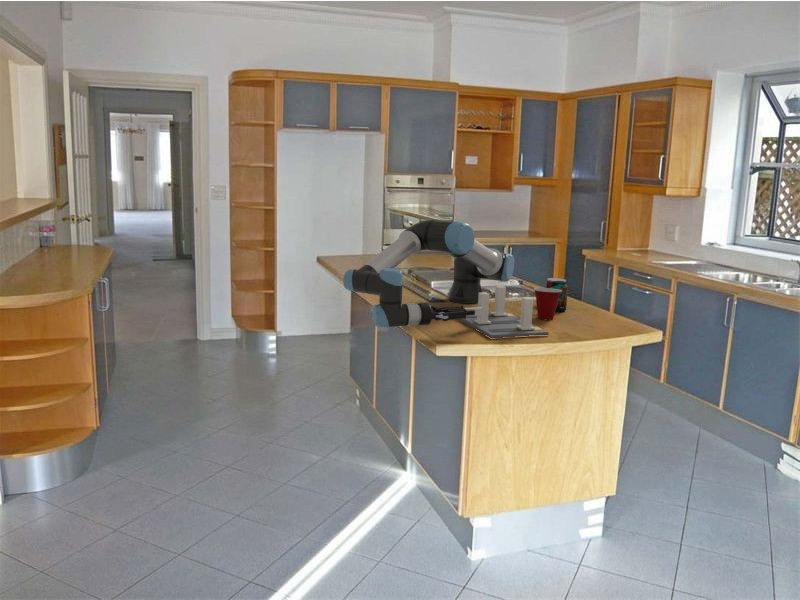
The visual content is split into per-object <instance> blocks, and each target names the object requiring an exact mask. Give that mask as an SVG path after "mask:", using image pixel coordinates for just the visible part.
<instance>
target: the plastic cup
mask: <svg viewBox="0 0 800 600" xmlns="http://www.w3.org/2000/svg"><path fill="white" fill-rule="evenodd" d="M533 290H534V293H535V302H536V310H537V311H536V312H537V317H538V319H539V318H540V319H539V320H542V319H547V320H546V321H549V320H548V319H552V320H554V317H555V315H556V314H555V313H556V312H555V311H556V307H557V303H558V299H559V295H560V293H561V292H562V290H559V289H552V288H546V287H534V288H533Z"/></svg>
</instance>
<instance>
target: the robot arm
mask: <svg viewBox="0 0 800 600" xmlns="http://www.w3.org/2000/svg"><path fill="white" fill-rule="evenodd" d="M421 251H430V252H438V253H439V252H440V253H445V254H447V255H449V256H451V257H453V261H454V262H453V282H452V284H451V287H450V290H449V293H448V300H449V301H450V300H451V301H450V302H453V303H459V304H478V296H479V293H480V292H483V289H482V285H481V279H483V280H492V281H498V282H509V281H510V280H511V278H512V277H513V274H514V269H515V257H514V254H511V253H505V252H501V251H499V250H498V249H496V248H493V247H490V248H489V247H487V246H485V245H484V244H482V243H481V242H479V241H478V240H477V239H475V233H474V230H473V228H472V226H471V225H470V224H469V223H467V222H463V221H453V220H450V221H449V220H439V219H426V220H421V221H419V222H417V223H414V224H413V225H411V226H409V227H407V228H406V229H404V230H403V231H402V232H401V233H400V234H399V236H398V238H397V239H396V240H394V241H393V242H392V243H391V244H390V245H388V246H387V247H386V248H384V249H383V250H381V252H379V253H378V254H376V255H375V256H374V257H373V258H371V259H370V260H368V261H367V262H366V263H365V264H364V265H362V266H361V267H360V268H358V269H356V268H351V269H347V270H346V271H345V272H344V275H343V277H342V283H343V287H344V289H346V290H347V291H351V292H354V293H359V294H360V293H361V294H367V295H373V296H379V300H378V301H379V302H378V304H374V305H373V306H372V310H371V319H372V323H373V325H374V326H375V327H378V328H391V327H393V328H394V327H409V328H411V327H412V326H428V325H429V326H430V324H431V322H432V320H435V321H441V320H442V321H443V322H447V321H453V320H459V319H462V318H464V319H466V316H483V308H482V307H478V306H477V307H464V305H460V306H438V305H436V306H435V305H430V303H428V302H420V303H419V302H418V303H417V302H415V303H414V302H412V303H409V302H408V303H403V286H404V285H403V284H404V281H403V271H402V270H401V269H399V268H396V267H398V266H399V265H400V264H402V262H404V261H406V259H407V258H409V257H410V256H411V255H416V254H418V253H419V252H421Z"/></svg>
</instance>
